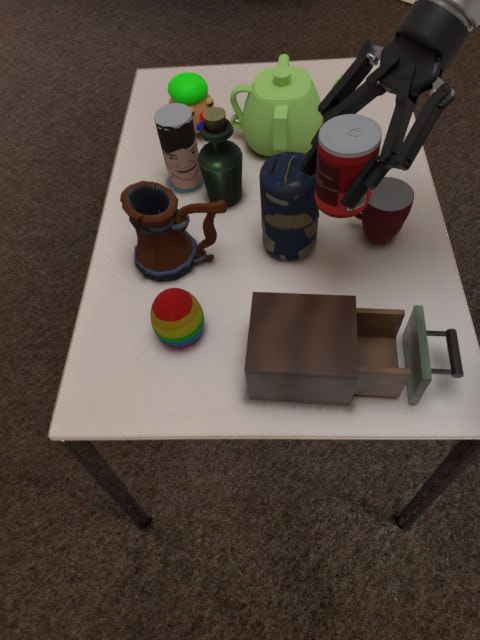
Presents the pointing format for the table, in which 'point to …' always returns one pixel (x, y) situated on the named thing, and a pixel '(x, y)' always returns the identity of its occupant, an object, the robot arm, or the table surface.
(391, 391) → the drawer
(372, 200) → the mug
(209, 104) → the figurine
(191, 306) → the decorative egg
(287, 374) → the cabinet
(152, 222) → the mug
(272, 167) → the canister
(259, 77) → the teapot
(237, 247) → the table surface
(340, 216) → the canned food
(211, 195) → the potion bottle
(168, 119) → the printed cylinder container
